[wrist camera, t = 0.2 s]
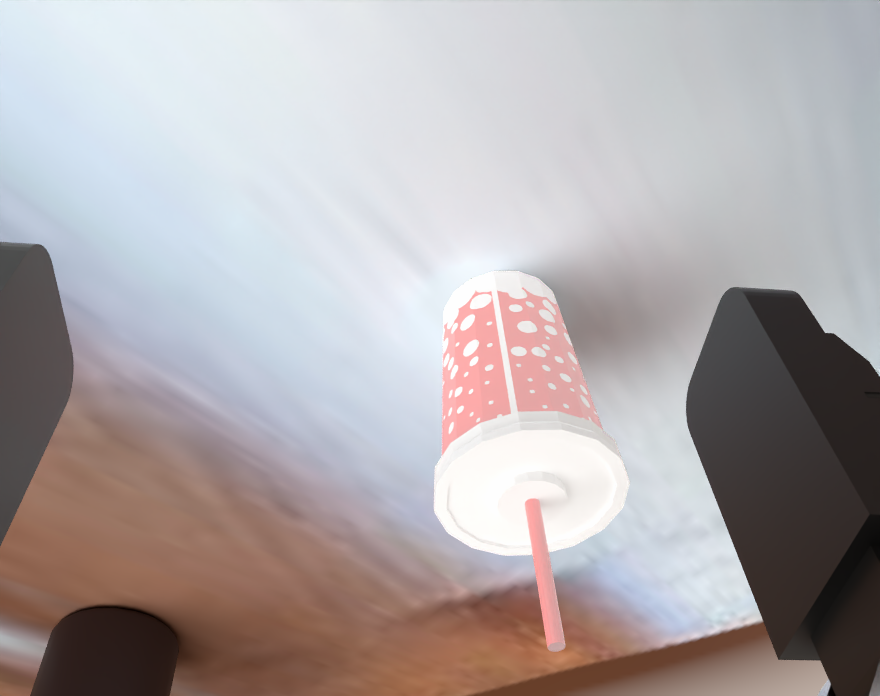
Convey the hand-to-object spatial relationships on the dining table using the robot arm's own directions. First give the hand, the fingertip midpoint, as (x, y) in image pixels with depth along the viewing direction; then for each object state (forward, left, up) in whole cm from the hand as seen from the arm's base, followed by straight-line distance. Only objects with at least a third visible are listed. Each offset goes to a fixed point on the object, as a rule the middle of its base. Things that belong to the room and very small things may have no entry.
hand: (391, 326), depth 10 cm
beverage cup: (+14, +5, -18) cm, 23 cm away
